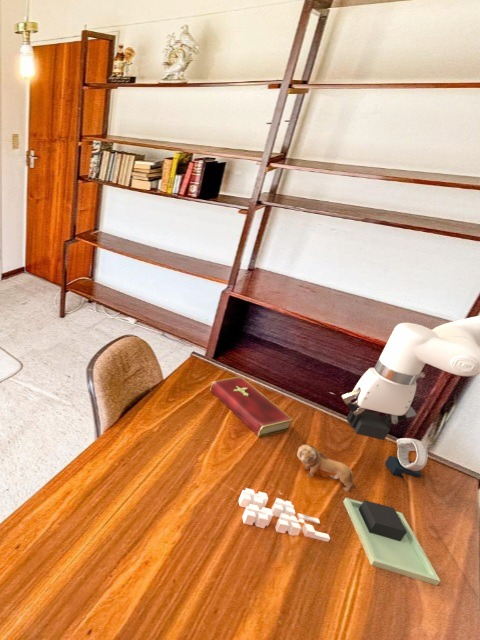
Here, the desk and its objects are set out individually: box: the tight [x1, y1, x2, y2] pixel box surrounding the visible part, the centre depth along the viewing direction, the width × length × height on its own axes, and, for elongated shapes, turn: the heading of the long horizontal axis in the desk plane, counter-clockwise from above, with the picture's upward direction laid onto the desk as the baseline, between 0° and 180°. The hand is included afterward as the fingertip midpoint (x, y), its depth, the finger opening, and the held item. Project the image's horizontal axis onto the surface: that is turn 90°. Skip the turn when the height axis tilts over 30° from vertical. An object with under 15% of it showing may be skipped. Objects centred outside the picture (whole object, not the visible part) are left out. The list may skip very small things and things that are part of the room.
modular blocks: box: [238, 487, 331, 543], centre depth 92 cm, size 20×7×4 cm, turn 75°
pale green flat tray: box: [343, 497, 441, 586], centre depth 90 cm, size 12×16×2 cm
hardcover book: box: [209, 375, 294, 438], centre depth 126 cm, size 12×21×4 cm, turn 16°
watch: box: [384, 437, 429, 479], centre depth 105 cm, size 6×8×11 cm
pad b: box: [352, 410, 391, 441], centre depth 102 cm, size 6×6×4 cm
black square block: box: [359, 499, 407, 541], centre depth 92 cm, size 6×6×4 cm
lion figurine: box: [296, 444, 356, 493], centre depth 103 cm, size 15×5×9 cm, turn 68°
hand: (366, 427), depth 103 cm, fingers closed on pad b, 6 cm apart
